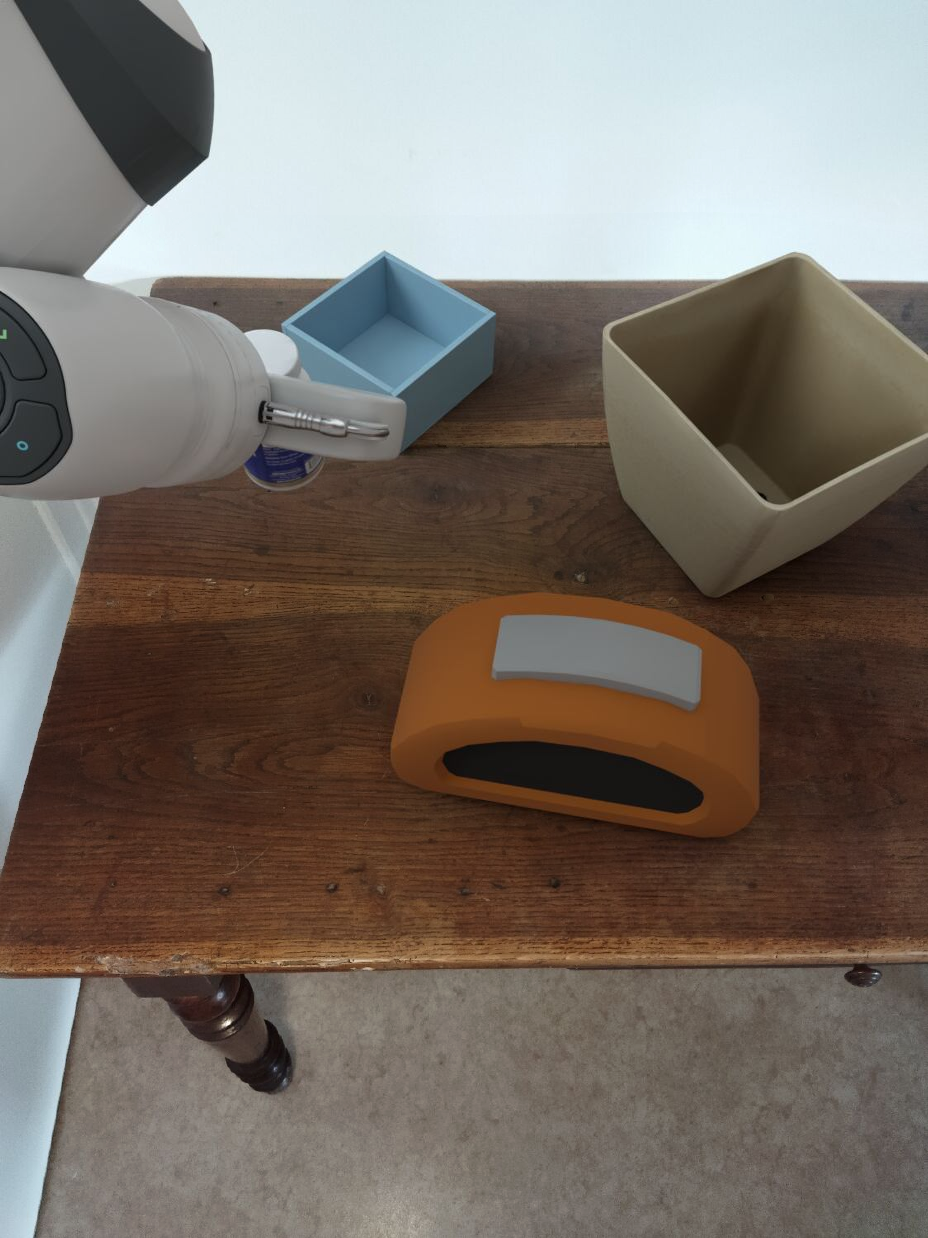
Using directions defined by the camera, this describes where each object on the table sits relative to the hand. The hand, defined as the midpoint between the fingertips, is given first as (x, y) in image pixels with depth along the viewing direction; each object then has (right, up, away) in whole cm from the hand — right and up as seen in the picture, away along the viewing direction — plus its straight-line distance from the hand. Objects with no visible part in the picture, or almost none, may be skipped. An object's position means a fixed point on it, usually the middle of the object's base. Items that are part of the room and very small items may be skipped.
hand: (275, 400), depth 58 cm
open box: (+6, +8, +24) cm, 26 cm away
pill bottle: (0, -3, +4) cm, 6 cm away
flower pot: (+34, -6, +17) cm, 39 cm away
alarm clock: (+20, -25, +5) cm, 32 cm away
